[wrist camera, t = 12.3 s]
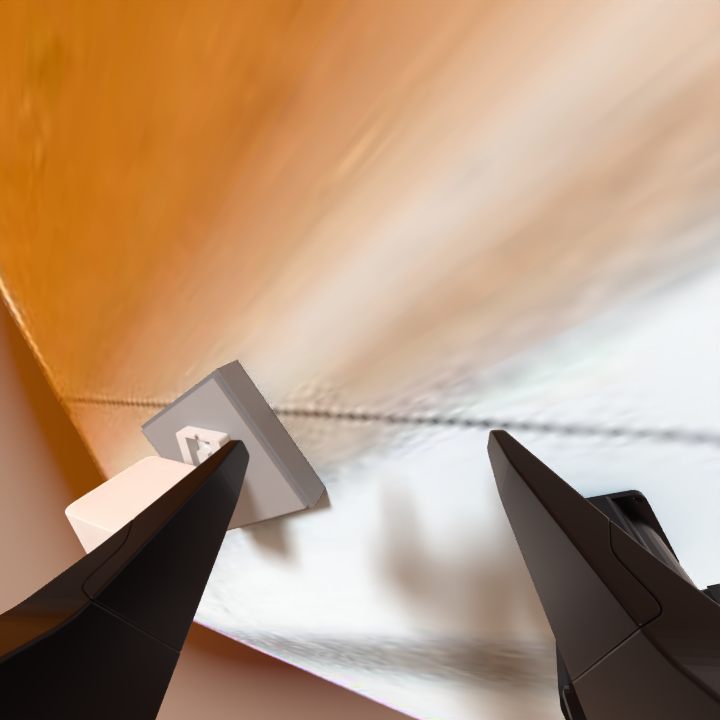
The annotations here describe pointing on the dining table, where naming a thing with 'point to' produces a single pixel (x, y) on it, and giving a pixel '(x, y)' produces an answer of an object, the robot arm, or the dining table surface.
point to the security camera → (138, 487)
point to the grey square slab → (257, 431)
